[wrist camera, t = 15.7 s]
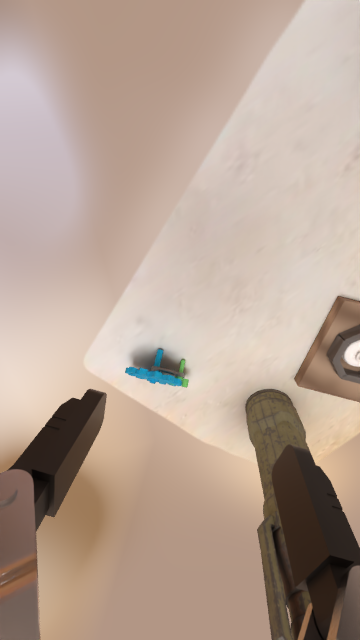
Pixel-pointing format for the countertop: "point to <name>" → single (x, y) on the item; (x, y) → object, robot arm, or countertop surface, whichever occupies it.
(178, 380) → the blue and green toy
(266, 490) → the thermos
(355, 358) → the chess piece
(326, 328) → the socket board
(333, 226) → the countertop surface
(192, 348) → the countertop surface
